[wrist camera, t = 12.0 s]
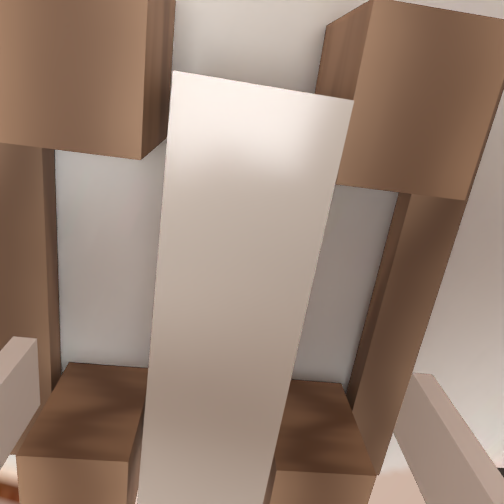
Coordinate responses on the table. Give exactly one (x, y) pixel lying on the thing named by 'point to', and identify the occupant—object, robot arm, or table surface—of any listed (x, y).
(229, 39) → the table surface
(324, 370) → the table surface
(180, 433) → the light grey rectangular block
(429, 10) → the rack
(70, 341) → the table surface
